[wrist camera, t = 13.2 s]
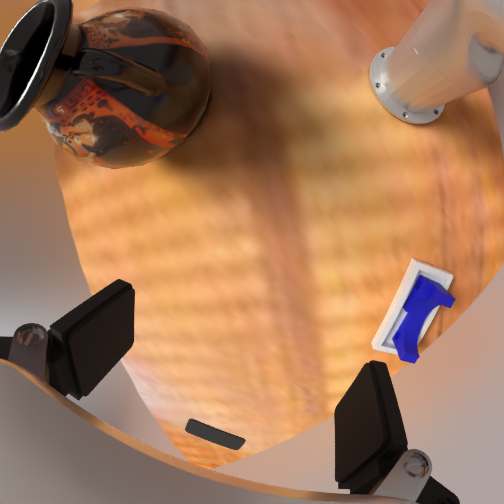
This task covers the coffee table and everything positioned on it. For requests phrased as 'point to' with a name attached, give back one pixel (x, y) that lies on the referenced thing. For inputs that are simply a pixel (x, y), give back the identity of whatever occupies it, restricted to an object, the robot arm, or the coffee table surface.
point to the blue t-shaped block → (418, 315)
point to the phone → (214, 435)
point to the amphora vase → (106, 81)
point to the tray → (396, 310)
